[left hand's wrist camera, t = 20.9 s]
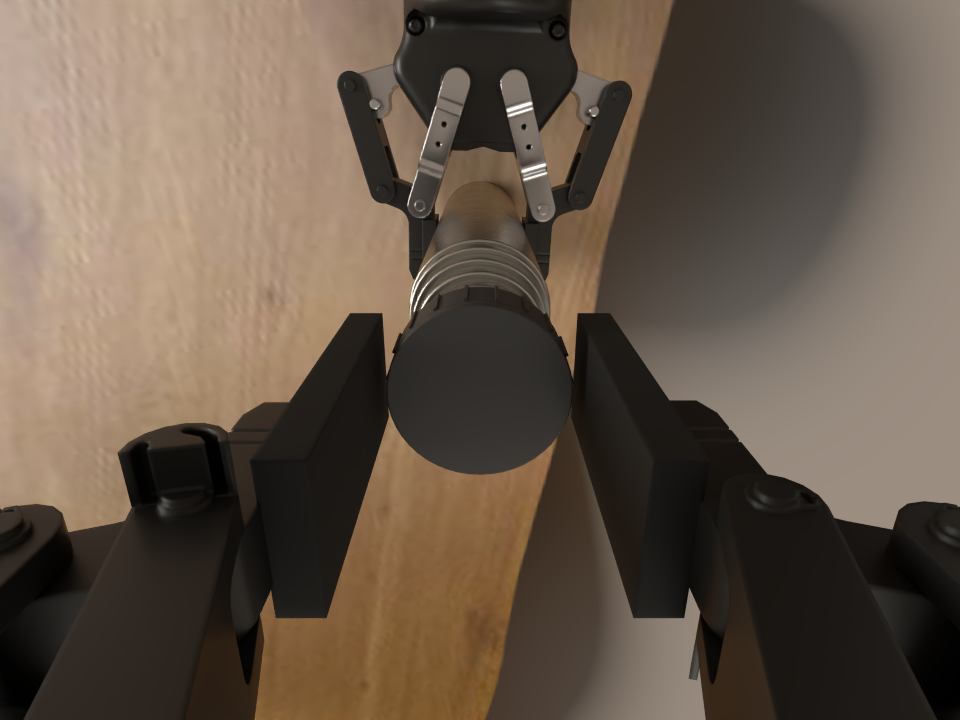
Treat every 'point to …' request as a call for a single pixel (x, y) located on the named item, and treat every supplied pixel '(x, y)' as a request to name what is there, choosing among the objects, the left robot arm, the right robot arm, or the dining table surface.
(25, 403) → the dining table surface
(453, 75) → the right robot arm
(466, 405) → the cap
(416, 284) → the bottle
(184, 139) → the dining table surface
